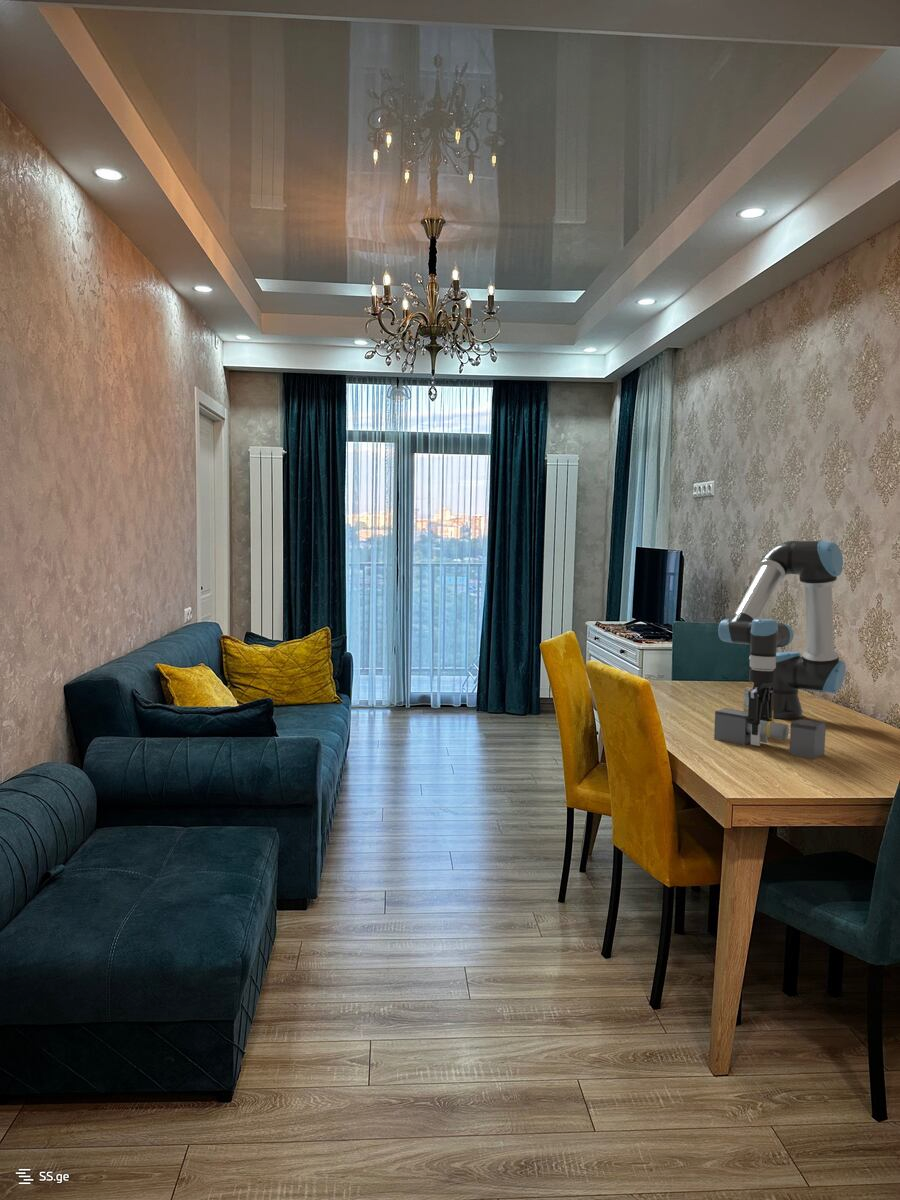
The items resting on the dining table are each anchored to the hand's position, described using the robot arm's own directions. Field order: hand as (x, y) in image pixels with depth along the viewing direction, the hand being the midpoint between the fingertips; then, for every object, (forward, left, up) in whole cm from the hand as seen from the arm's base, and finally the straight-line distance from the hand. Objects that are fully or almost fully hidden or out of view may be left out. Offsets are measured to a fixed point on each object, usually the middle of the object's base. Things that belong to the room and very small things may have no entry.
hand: (758, 743), depth 246 cm
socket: (0, +14, -1) cm, 15 cm away
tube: (0, -2, +2) cm, 3 cm away
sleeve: (0, -8, -1) cm, 8 cm away
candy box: (-15, -7, -1) cm, 17 cm away
